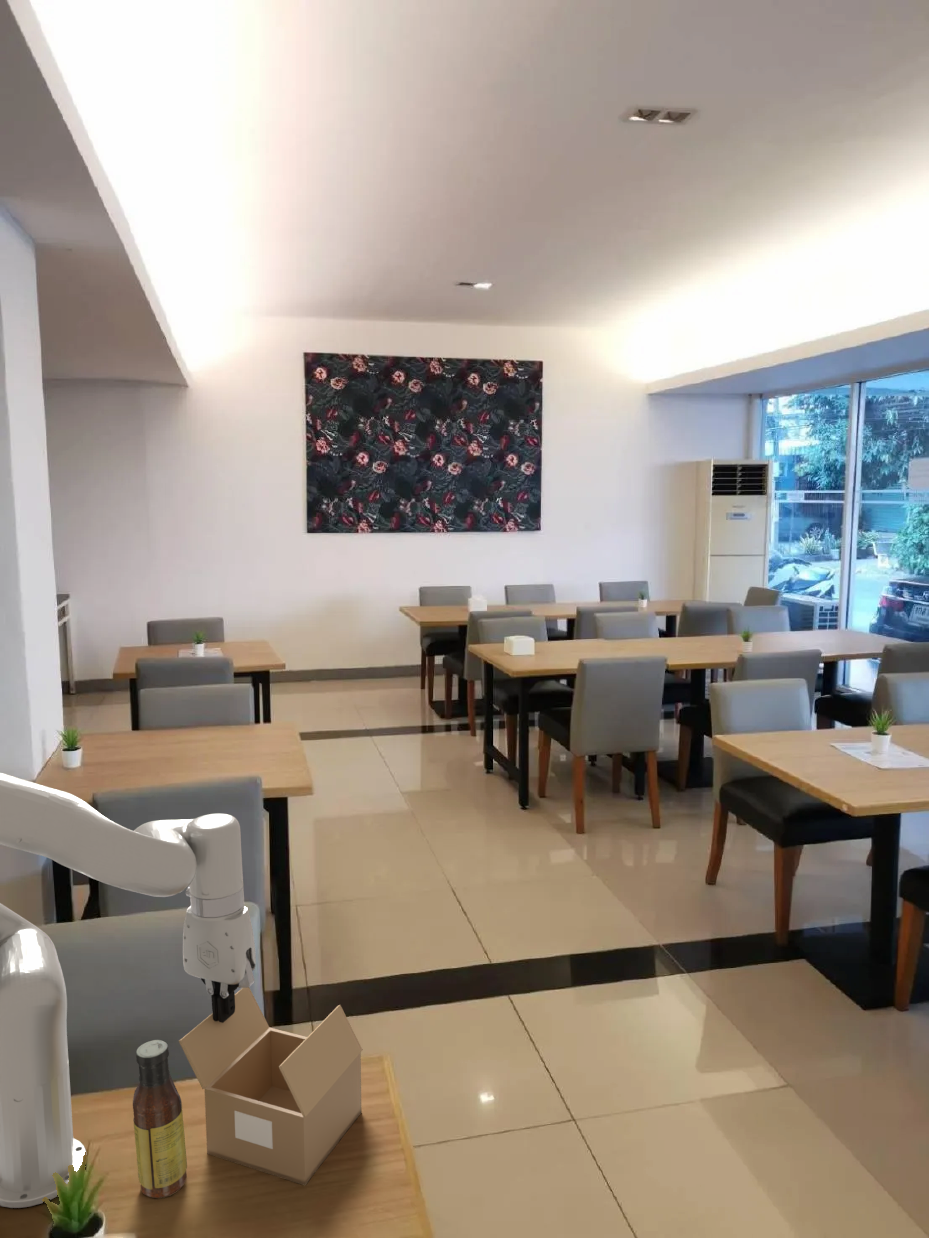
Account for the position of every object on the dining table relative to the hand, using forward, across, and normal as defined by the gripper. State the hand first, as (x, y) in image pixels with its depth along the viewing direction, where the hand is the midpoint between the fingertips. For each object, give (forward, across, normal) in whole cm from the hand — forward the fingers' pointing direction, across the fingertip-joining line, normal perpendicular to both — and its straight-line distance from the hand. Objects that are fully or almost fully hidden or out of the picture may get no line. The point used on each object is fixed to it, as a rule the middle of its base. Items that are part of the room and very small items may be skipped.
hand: (224, 1016), depth 137 cm
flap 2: (+2, +17, 0) cm, 17 cm away
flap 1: (+2, +1, 0) cm, 2 cm away
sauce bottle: (+15, +1, -16) cm, 22 cm away
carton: (+16, +10, 0) cm, 19 cm away
